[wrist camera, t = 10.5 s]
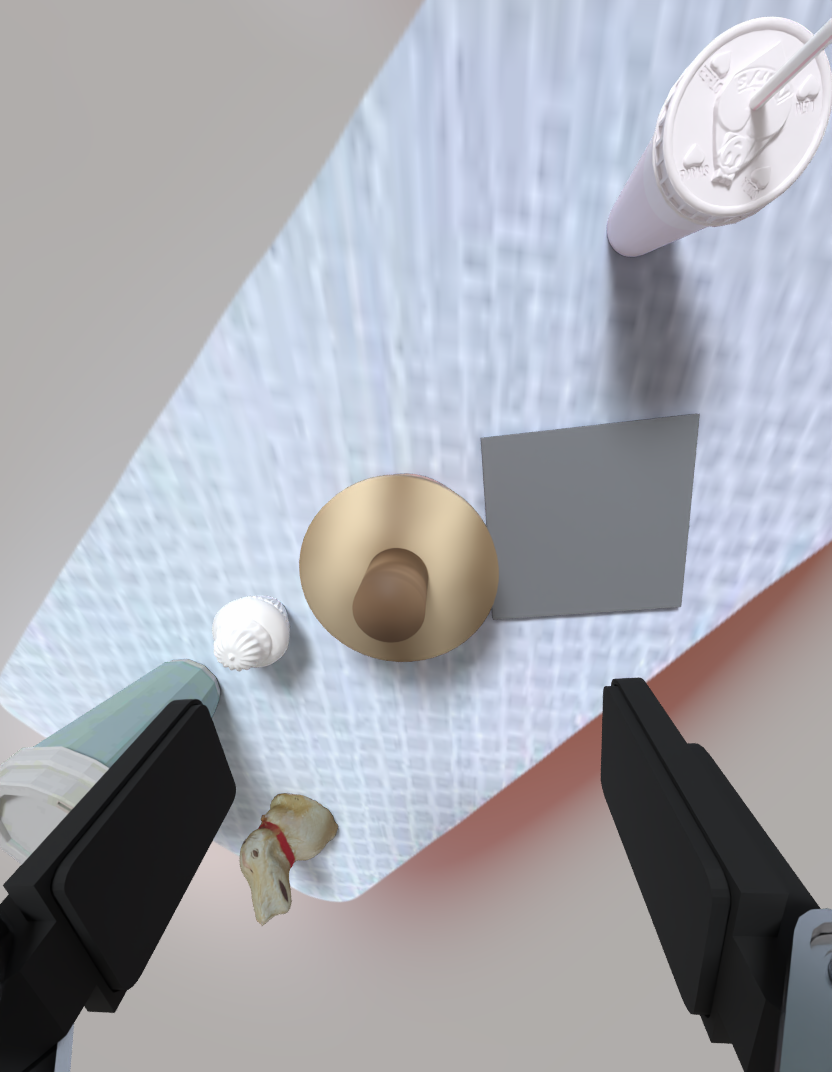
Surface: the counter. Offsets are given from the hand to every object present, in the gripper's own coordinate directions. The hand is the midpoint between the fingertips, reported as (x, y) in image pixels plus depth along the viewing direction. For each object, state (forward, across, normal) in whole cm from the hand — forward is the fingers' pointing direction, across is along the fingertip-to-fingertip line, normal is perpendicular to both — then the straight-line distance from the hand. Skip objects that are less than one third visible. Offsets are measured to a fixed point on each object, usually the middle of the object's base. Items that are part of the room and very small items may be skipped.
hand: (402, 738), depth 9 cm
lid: (+18, +3, +3) cm, 18 cm away
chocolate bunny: (+23, +18, +33) cm, 44 cm away
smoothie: (+24, -14, -16) cm, 32 cm away
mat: (+24, -11, +3) cm, 26 cm away
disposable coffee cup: (+23, +26, +16) cm, 38 cm away
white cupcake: (+23, +16, +9) cm, 30 cm away
